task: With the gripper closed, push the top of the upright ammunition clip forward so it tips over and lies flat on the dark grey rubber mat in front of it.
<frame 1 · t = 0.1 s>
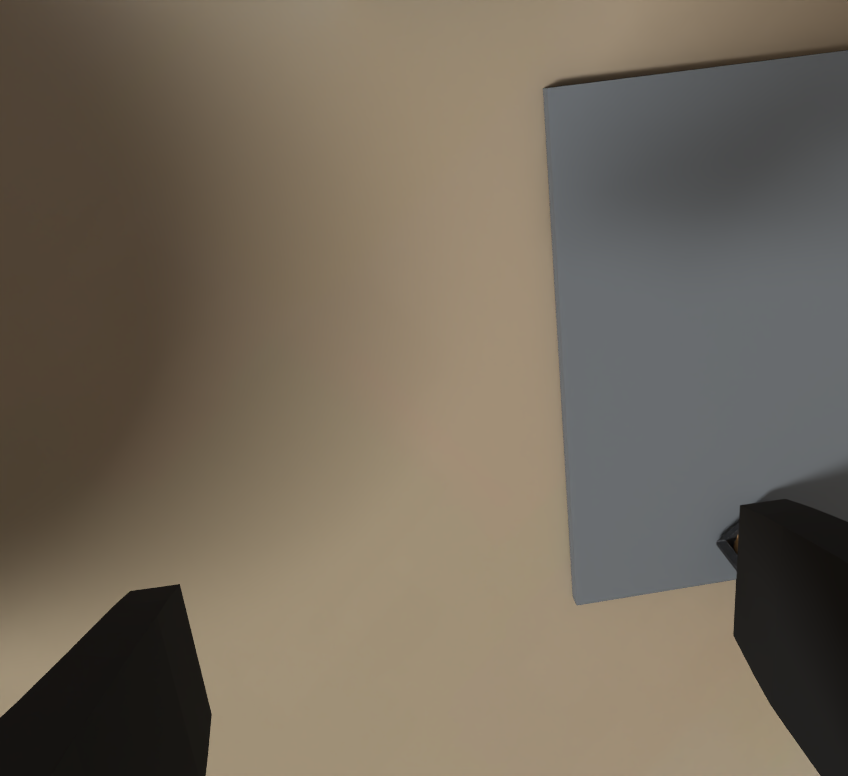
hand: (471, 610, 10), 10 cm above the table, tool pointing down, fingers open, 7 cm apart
ammunition clip: (839, 611, 23), on the table, touching rubber mat
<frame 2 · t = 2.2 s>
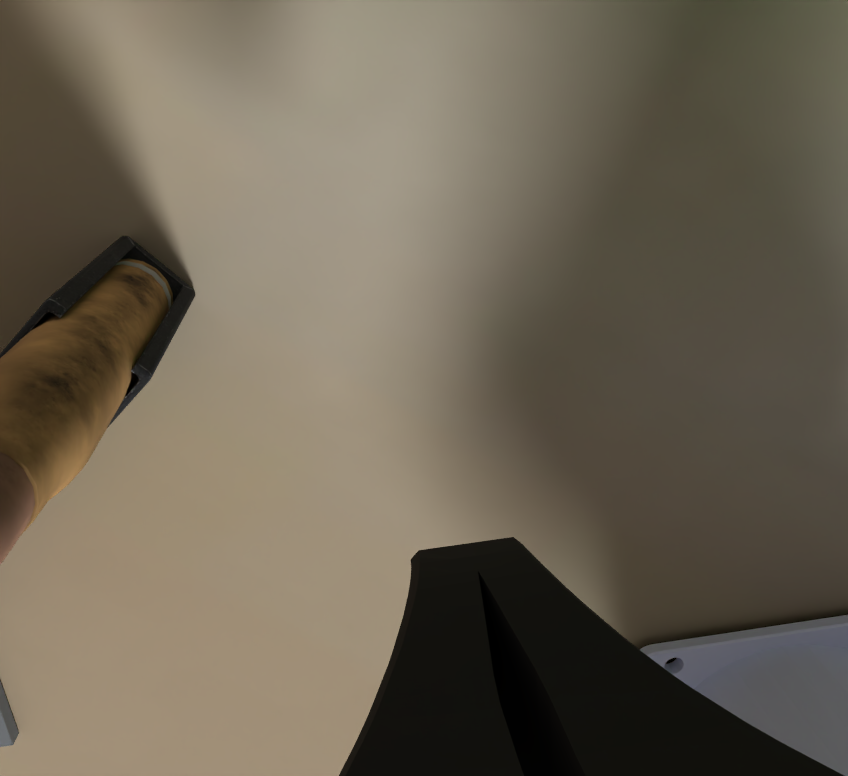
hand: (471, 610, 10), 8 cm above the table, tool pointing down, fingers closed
ammunition clip: (8, 439, 17), on the table, touching rubber mat
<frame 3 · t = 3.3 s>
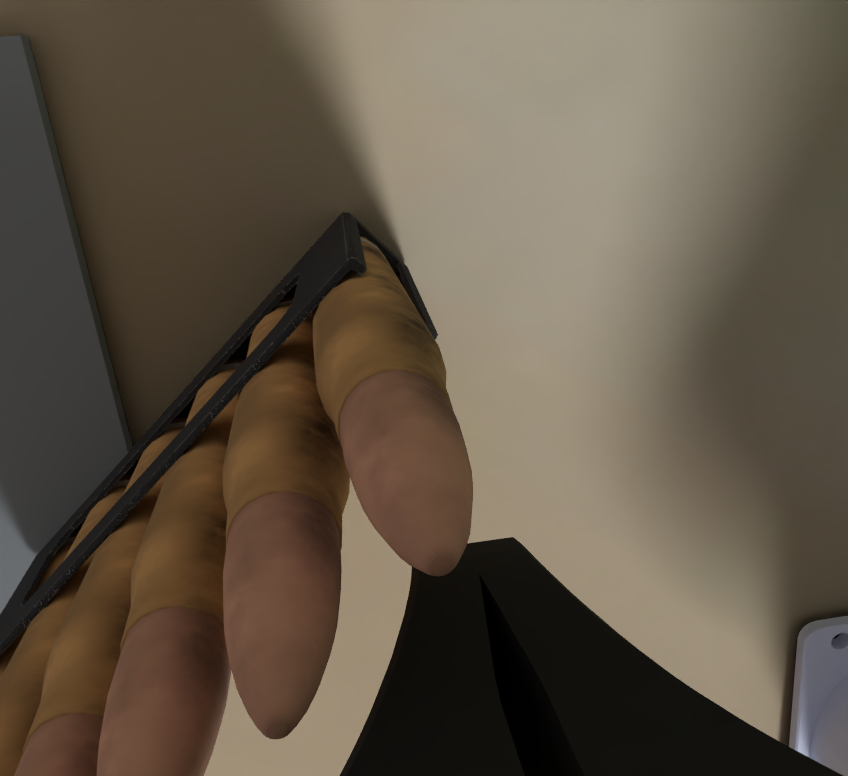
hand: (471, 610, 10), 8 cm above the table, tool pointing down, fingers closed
ammunition clip: (216, 416, 18), on the table, touching rubber mat
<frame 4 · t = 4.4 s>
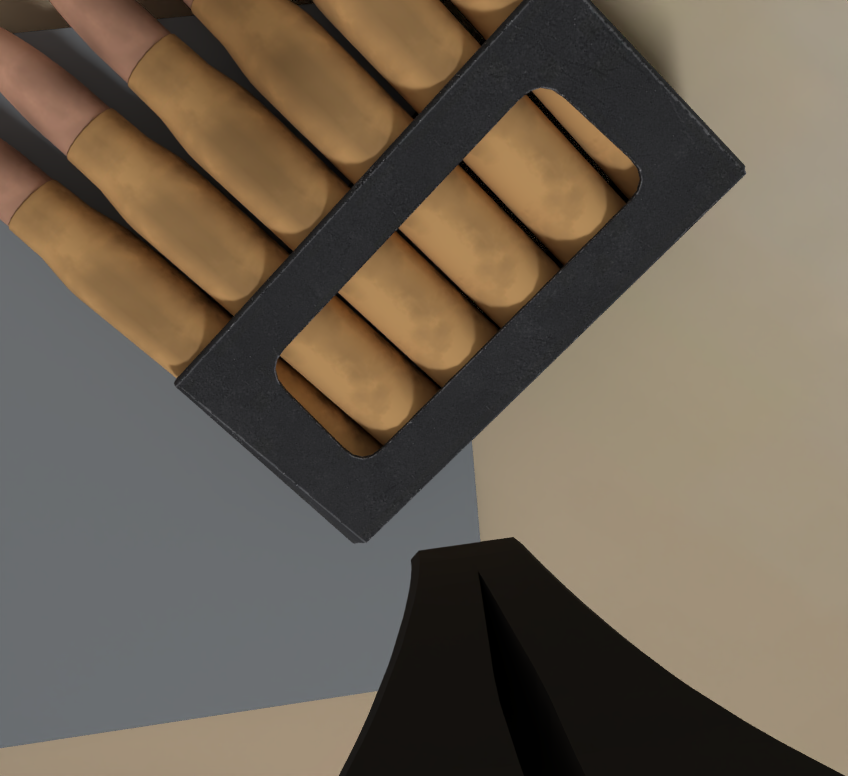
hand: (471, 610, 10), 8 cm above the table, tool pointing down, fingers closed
ammunition clip: (539, 364, 17), point 1 cm above the table, touching rubber mat
rubber mat: (164, 419, 18), on the table
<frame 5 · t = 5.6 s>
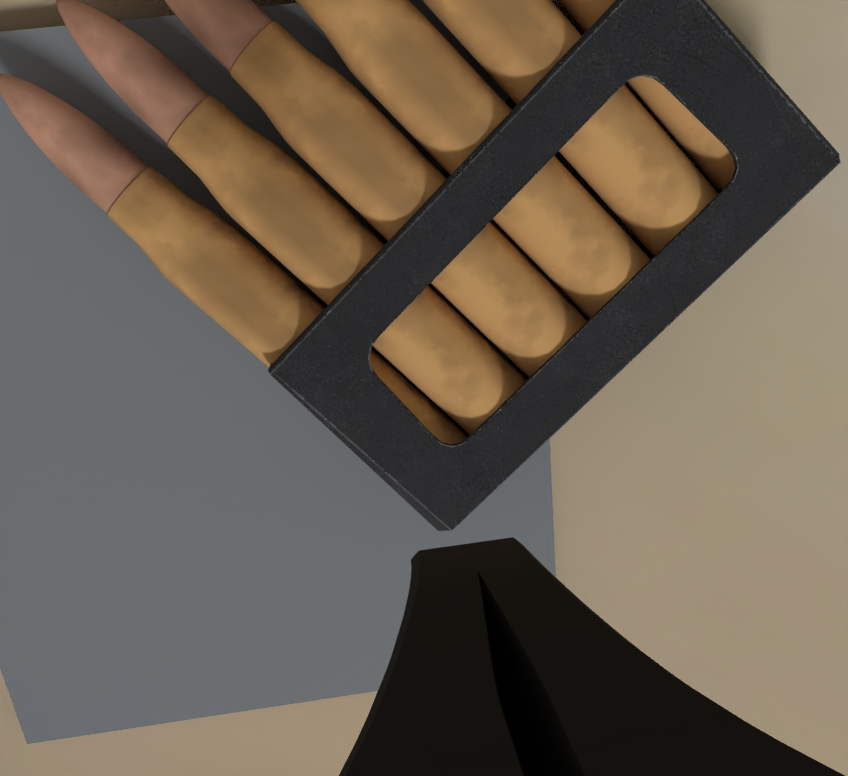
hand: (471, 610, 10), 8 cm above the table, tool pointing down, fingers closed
ammunition clip: (624, 353, 17), point 1 cm above the table, touching rubber mat
rubber mat: (245, 408, 18), on the table
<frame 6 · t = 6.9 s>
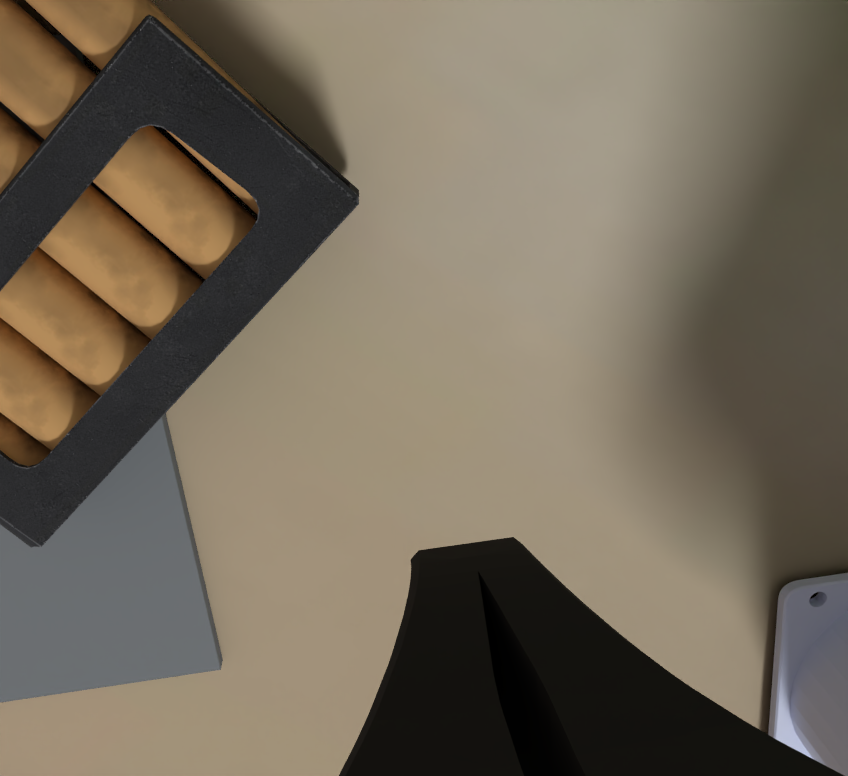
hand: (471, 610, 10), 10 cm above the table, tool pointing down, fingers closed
ammunition clip: (205, 379, 18), point 1 cm above the table, touching rubber mat
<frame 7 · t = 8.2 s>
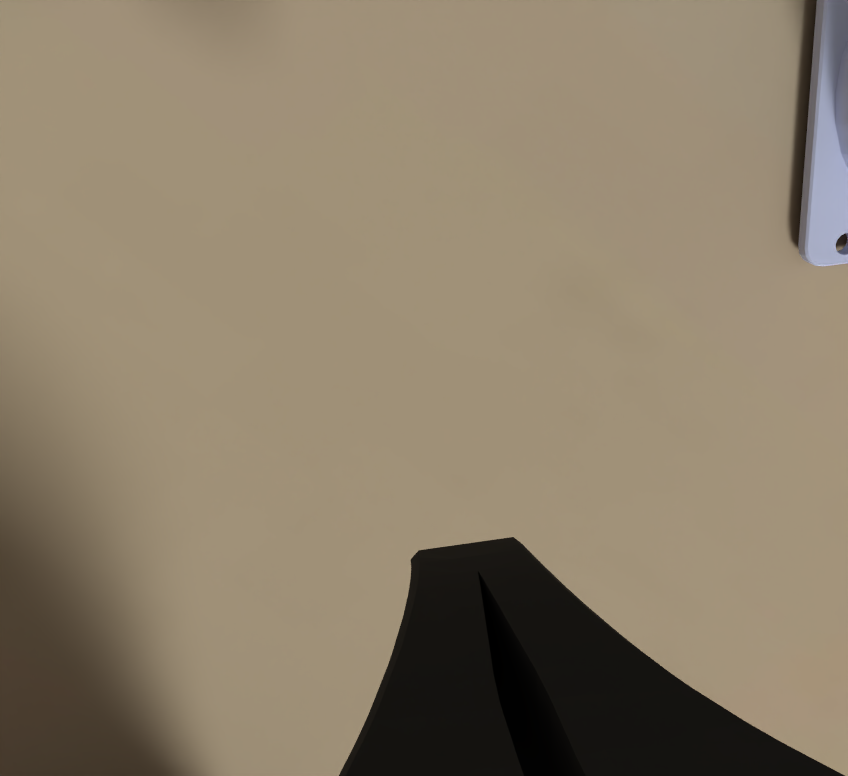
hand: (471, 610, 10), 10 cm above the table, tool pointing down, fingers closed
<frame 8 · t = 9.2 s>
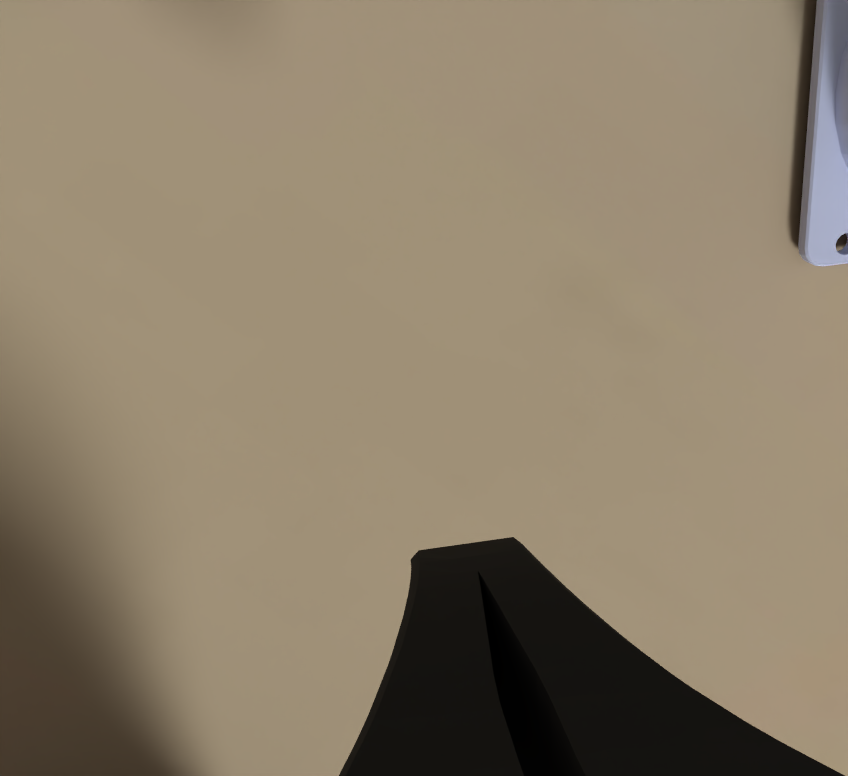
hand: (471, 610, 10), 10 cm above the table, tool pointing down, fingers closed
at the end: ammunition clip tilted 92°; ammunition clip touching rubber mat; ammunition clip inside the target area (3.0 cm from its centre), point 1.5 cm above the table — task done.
